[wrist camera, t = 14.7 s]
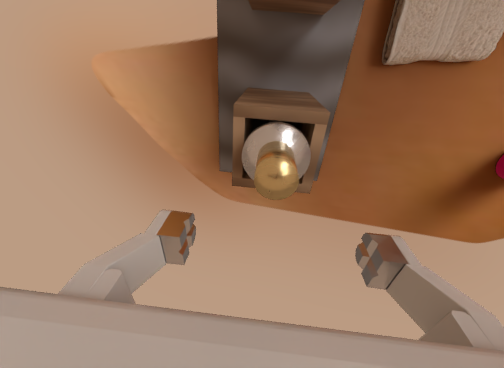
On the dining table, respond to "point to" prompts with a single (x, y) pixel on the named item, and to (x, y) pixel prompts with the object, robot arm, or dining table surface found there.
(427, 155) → the dining table surface
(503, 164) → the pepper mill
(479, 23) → the washcloth
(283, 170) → the plunger
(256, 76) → the grey holder stand
